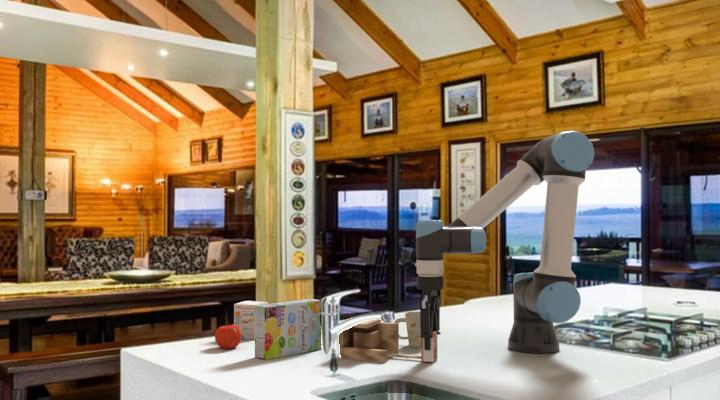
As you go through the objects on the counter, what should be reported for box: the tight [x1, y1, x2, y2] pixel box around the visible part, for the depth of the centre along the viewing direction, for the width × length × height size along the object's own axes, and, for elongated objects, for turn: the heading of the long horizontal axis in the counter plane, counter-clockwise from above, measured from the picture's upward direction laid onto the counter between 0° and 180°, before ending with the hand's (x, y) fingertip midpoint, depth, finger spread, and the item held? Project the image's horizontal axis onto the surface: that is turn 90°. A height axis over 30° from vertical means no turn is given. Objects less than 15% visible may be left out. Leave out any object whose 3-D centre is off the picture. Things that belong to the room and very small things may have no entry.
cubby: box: [339, 316, 400, 363], centre depth 186 cm, size 14×11×10 cm
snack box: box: [254, 298, 323, 360], centre depth 190 cm, size 21×6×15 cm, turn 134°
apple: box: [214, 321, 242, 350], centre depth 197 cm, size 8×8×8 cm
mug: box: [393, 311, 421, 348], centre depth 202 cm, size 8×13×10 cm, turn 78°
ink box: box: [233, 300, 269, 341], centre depth 215 cm, size 9×8×12 cm
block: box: [353, 329, 438, 363], centre depth 183 cm, size 23×6×8 cm, turn 68°
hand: (430, 359), depth 179 cm, fingers closed on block, 3 cm apart
